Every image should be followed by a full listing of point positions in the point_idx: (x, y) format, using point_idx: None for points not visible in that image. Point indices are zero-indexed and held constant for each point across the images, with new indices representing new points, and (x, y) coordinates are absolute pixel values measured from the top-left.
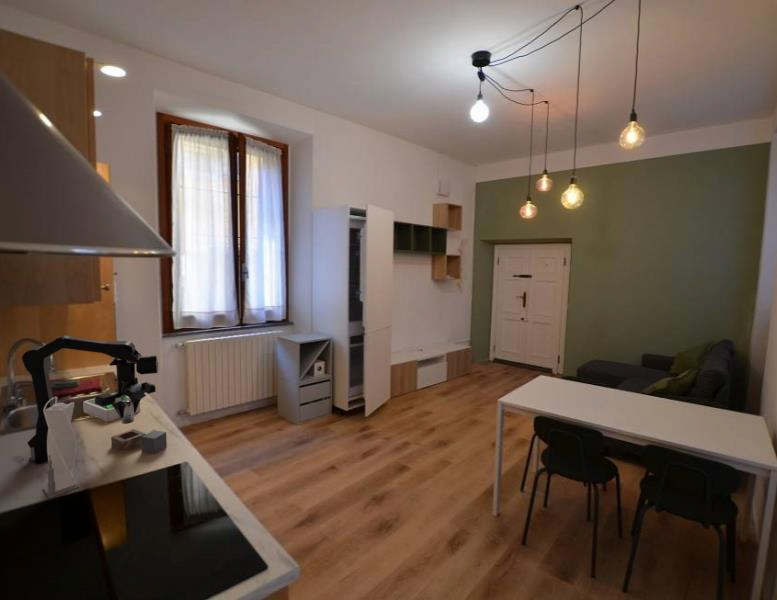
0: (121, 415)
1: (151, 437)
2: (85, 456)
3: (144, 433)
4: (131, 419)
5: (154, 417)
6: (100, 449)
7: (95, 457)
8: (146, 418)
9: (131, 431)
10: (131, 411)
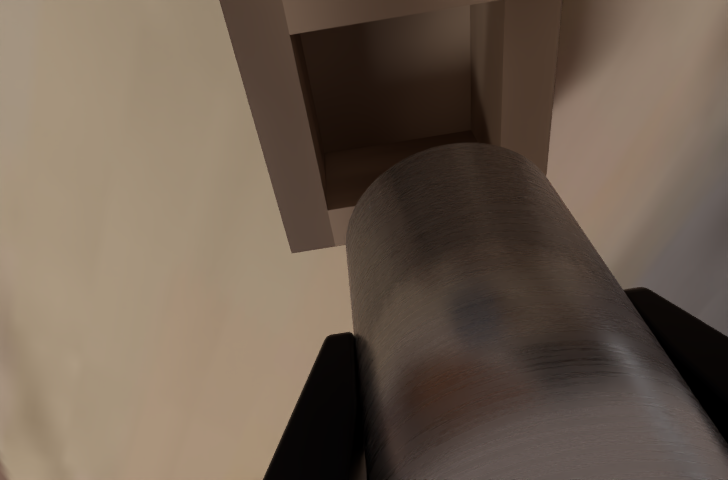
0: (700, 330)
1: None
2: (721, 128)
3: (226, 7)
4: (452, 184)
5: (49, 437)
6: (579, 174)
7: (711, 35)
8: (109, 449)
9: (332, 207)
10: (504, 348)
